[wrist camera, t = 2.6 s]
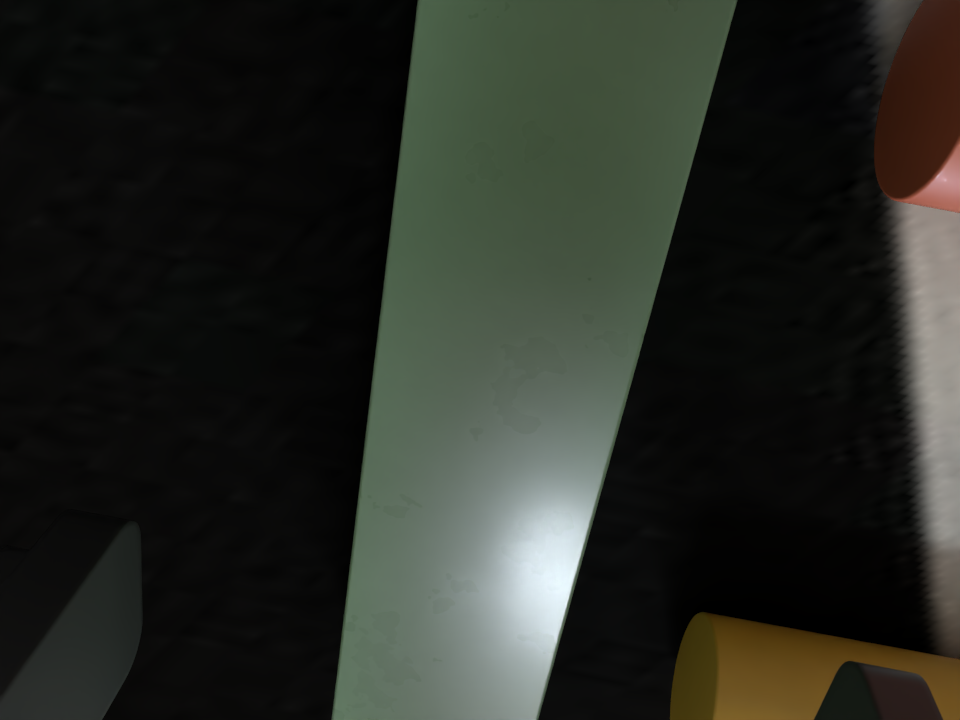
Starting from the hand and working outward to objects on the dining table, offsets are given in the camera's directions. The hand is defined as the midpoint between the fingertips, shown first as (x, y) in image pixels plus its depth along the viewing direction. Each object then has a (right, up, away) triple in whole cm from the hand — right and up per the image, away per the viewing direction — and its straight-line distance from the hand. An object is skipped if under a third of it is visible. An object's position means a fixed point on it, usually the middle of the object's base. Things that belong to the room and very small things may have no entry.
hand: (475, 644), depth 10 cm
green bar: (0, +3, +6) cm, 7 cm away
